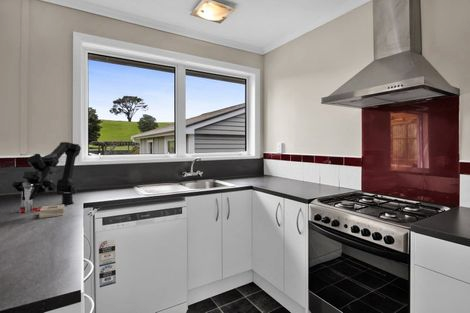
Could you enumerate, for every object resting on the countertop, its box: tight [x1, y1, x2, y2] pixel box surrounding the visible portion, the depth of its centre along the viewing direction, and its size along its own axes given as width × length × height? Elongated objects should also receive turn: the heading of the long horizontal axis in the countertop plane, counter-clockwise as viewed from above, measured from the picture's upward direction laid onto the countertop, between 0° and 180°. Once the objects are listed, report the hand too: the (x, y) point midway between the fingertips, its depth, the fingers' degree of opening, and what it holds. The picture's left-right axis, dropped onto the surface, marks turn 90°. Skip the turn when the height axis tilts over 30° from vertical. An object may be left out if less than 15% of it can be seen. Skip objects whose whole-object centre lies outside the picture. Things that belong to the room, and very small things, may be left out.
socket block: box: [38, 204, 65, 219], centre depth 135 cm, size 12×10×4 cm
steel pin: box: [23, 183, 34, 214], centre depth 128 cm, size 4×4×14 cm
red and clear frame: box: [17, 192, 41, 214], centre depth 143 cm, size 8×13×9 cm
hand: (26, 199), depth 127 cm, fingers closed on steel pin, 3 cm apart
